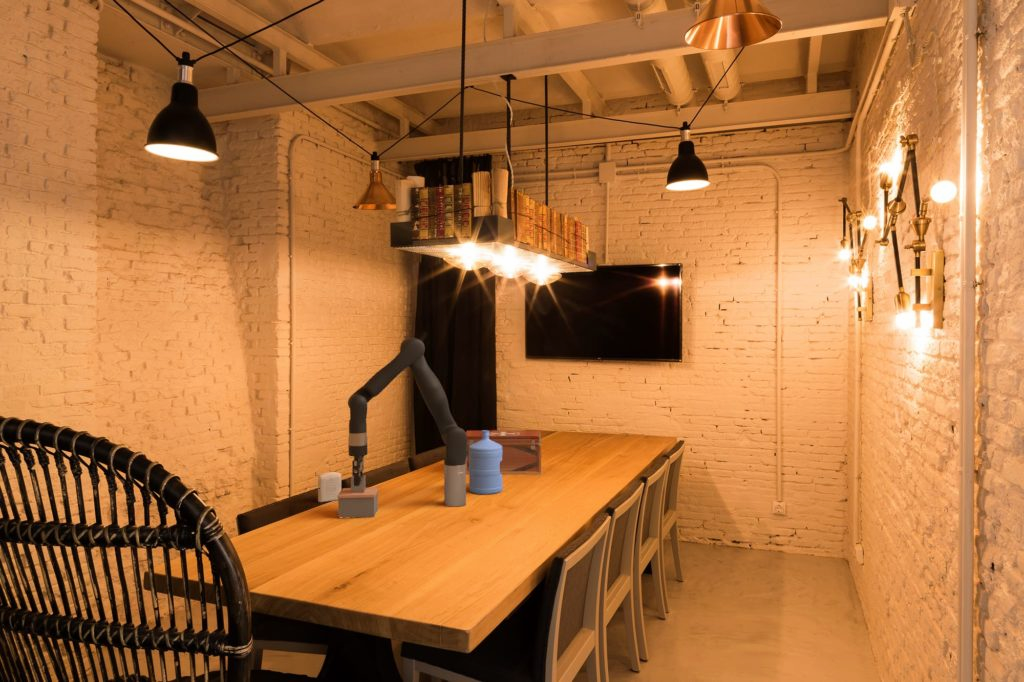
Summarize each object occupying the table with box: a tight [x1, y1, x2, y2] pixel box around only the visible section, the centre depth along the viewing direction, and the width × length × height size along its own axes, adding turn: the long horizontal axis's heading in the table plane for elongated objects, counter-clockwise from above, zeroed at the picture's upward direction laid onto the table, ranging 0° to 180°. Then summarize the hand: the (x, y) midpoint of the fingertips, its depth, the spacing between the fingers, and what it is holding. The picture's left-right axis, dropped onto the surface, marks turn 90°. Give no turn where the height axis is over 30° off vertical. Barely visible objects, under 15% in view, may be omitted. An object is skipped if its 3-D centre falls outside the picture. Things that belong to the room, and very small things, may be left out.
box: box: [337, 491, 379, 519], centre depth 277 cm, size 14×12×8 cm
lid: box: [337, 487, 379, 498], centre depth 277 cm, size 15×12×1 cm
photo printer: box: [317, 471, 342, 503], centre depth 300 cm, size 10×4×12 cm, turn 123°
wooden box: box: [465, 429, 542, 476], centre depth 361 cm, size 20×41×20 cm, turn 88°
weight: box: [350, 474, 367, 493], centre depth 277 cm, size 5×5×6 cm
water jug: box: [468, 429, 504, 495], centre depth 316 cm, size 16×16×28 cm
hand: (358, 483), depth 277 cm, fingers open, 8 cm apart
